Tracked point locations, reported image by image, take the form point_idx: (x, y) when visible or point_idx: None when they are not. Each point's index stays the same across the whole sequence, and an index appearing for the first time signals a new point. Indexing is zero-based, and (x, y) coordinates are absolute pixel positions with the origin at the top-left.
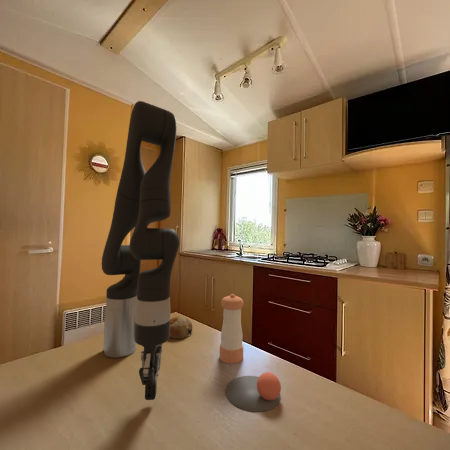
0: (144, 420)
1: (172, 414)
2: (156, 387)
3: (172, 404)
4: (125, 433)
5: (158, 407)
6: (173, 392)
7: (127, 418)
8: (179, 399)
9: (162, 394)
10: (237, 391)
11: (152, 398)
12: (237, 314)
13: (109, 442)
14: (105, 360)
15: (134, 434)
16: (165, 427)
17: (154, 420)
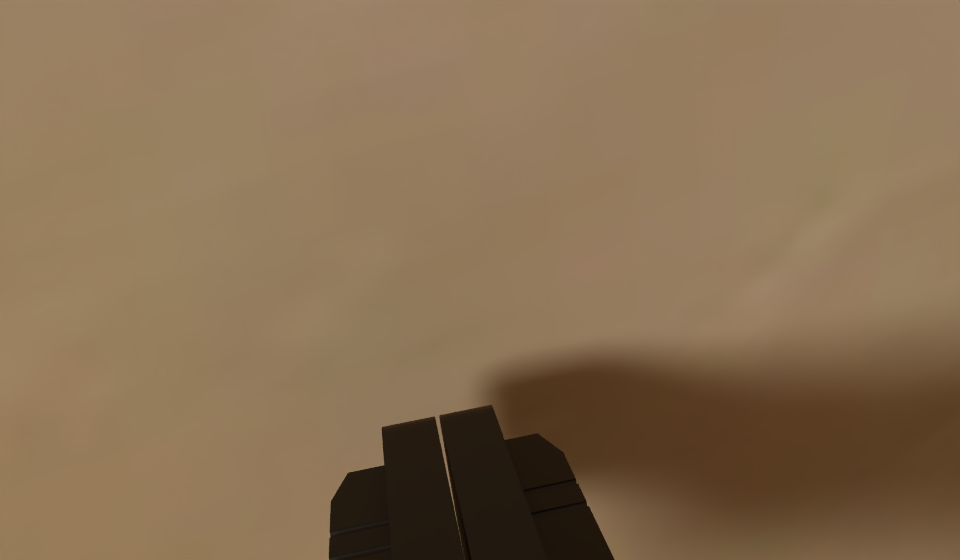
0: (709, 371)
1: (611, 39)
2: (397, 496)
3: (392, 101)
4: (870, 472)
5: (478, 291)
6: (74, 170)
7: (673, 550)
8: (247, 6)
9: (176, 334)
10: None
11: (539, 439)
12: None
13: (949, 546)
14: None
15: (895, 386)
16: (841, 74)
17: (715, 256)
